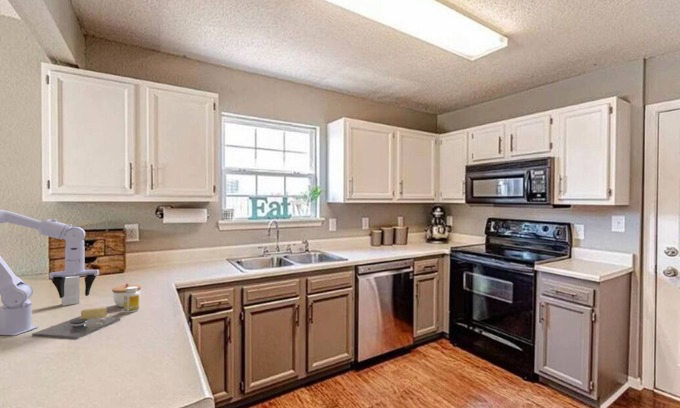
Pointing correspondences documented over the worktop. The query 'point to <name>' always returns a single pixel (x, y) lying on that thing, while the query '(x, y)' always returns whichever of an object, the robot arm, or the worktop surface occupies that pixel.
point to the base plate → (76, 328)
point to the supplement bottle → (131, 300)
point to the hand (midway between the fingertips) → (74, 296)
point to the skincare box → (71, 291)
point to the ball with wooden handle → (89, 315)
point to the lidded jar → (122, 293)
